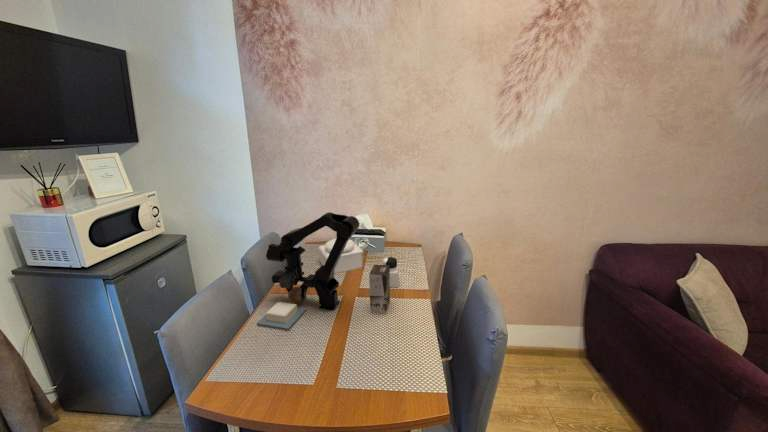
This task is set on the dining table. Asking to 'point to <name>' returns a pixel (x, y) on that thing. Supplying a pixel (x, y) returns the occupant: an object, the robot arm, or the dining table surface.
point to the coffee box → (379, 288)
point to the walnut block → (296, 296)
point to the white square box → (343, 256)
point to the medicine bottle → (392, 270)
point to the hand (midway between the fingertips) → (297, 297)
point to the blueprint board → (282, 325)
